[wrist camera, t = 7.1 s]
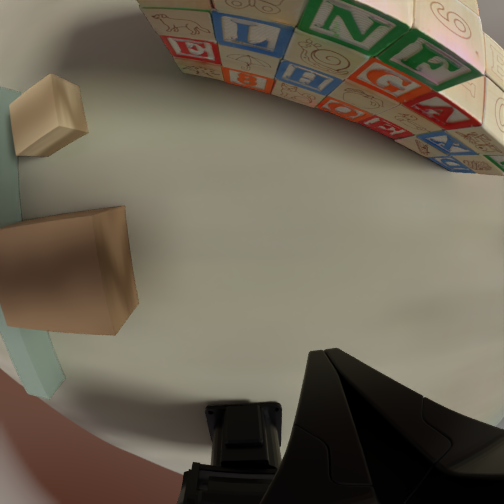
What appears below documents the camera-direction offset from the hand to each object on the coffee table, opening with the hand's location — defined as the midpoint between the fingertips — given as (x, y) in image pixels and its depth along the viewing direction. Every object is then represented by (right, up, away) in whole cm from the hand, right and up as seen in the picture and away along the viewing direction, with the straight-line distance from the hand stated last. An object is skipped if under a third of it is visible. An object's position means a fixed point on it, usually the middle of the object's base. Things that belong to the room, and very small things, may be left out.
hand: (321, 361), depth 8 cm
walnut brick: (-15, +3, +11) cm, 19 cm away
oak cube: (-16, +13, +8) cm, 22 cm away
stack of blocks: (+4, +15, +9) cm, 18 cm away
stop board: (-22, +4, +10) cm, 25 cm away
